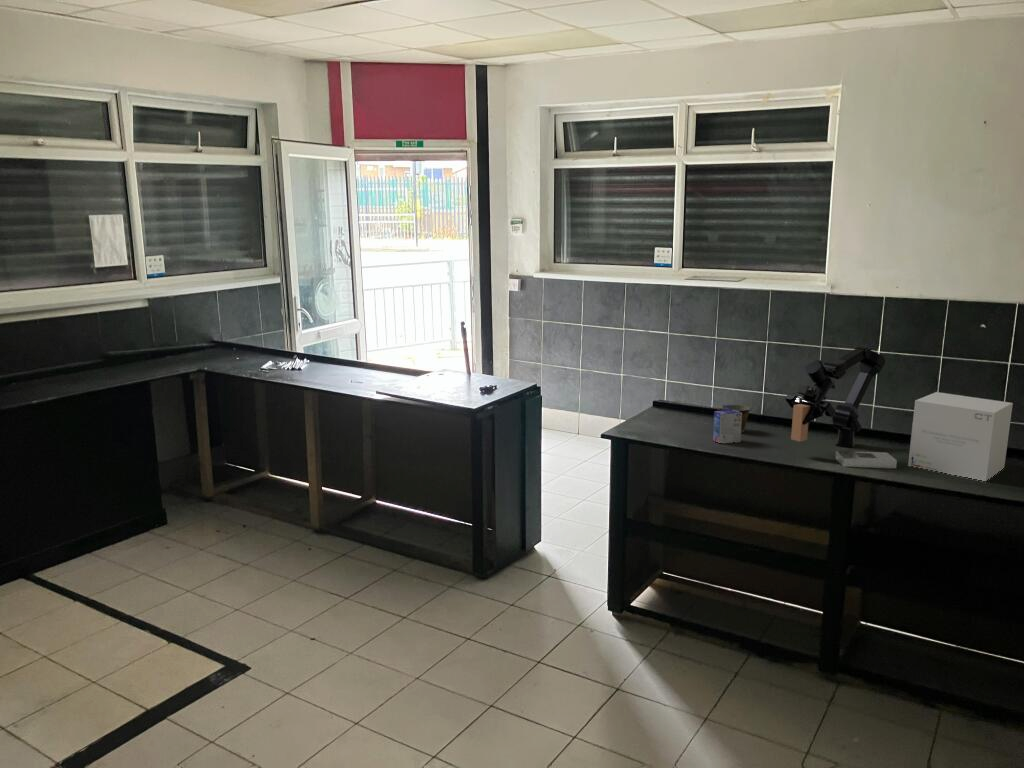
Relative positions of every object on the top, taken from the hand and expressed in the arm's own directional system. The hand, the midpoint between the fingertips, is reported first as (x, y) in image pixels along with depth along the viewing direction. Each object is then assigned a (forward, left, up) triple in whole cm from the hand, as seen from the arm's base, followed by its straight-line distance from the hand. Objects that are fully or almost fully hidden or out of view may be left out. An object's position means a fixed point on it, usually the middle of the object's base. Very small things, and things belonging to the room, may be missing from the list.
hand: (797, 422), depth 295 cm
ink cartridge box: (-8, -27, -13) cm, 31 cm away
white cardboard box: (-14, +53, -14) cm, 56 cm away
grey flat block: (-3, +24, -13) cm, 27 cm away
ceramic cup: (-26, -29, -13) cm, 41 cm away
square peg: (-1, +1, -7) cm, 7 cm away
